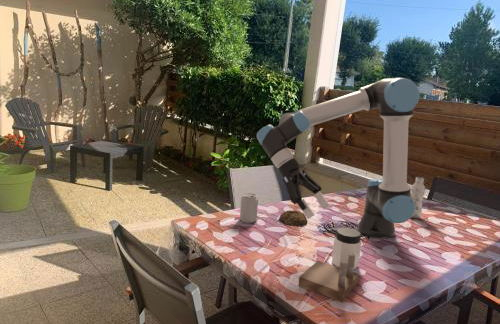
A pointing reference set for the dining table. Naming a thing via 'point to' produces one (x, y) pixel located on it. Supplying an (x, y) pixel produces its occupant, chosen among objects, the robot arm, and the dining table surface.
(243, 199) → the can
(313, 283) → the peg stand
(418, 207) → the pale carved statuette
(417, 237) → the dining table surface
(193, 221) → the dining table surface
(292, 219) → the bread roll
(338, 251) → the jar
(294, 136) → the robot arm
